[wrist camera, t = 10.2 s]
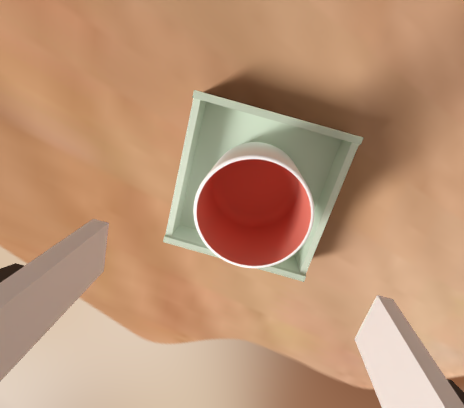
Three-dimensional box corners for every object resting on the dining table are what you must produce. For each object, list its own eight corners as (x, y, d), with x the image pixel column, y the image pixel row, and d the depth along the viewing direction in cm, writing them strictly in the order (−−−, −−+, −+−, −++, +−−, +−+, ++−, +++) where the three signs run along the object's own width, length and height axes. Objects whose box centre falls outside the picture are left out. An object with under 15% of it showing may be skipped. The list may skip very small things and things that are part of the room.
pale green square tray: (203, 92, 31) (194, 89, 27) (349, 133, 31) (363, 137, 27) (174, 226, 37) (163, 241, 32) (298, 261, 36) (303, 281, 32)
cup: (316, 166, 32) (339, 191, 22) (272, 238, 35) (276, 286, 26) (235, 124, 31) (224, 132, 22) (198, 201, 34) (175, 237, 25)
